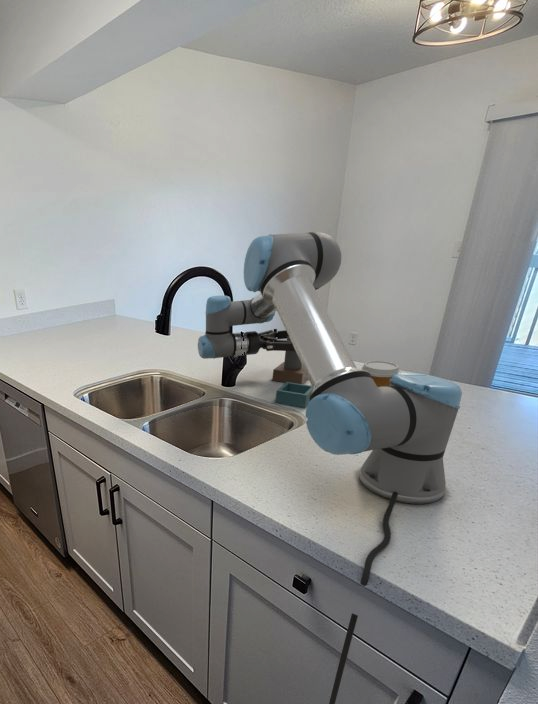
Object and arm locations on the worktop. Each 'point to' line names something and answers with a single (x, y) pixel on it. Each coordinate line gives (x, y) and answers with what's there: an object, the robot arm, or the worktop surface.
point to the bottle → (292, 360)
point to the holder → (294, 394)
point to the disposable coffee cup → (381, 371)
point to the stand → (289, 375)
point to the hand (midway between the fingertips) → (305, 337)
